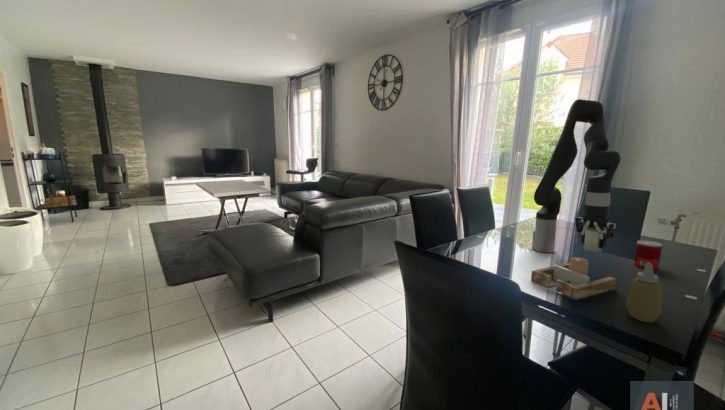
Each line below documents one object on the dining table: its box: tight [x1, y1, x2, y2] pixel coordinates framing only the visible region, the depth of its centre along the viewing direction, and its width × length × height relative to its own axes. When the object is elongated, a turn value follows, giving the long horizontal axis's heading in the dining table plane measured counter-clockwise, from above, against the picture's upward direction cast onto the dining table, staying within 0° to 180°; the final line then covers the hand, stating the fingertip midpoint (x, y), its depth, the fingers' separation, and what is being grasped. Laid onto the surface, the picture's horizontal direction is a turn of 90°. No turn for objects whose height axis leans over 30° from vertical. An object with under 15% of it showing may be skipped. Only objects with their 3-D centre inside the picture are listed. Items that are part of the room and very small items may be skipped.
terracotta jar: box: [569, 256, 590, 276], centre depth 117 cm, size 6×6×10 cm
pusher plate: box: [544, 264, 591, 290], centre depth 114 cm, size 13×13×6 cm
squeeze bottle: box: [625, 263, 663, 323], centre depth 92 cm, size 8×8×18 cm
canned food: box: [633, 239, 663, 271], centre depth 130 cm, size 8×8×11 cm
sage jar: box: [583, 227, 603, 253], centre depth 117 cm, size 6×6×9 cm
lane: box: [530, 261, 617, 299], centre depth 116 cm, size 18×21×5 cm
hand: (592, 245), depth 117 cm, fingers closed on sage jar, 5 cm apart
